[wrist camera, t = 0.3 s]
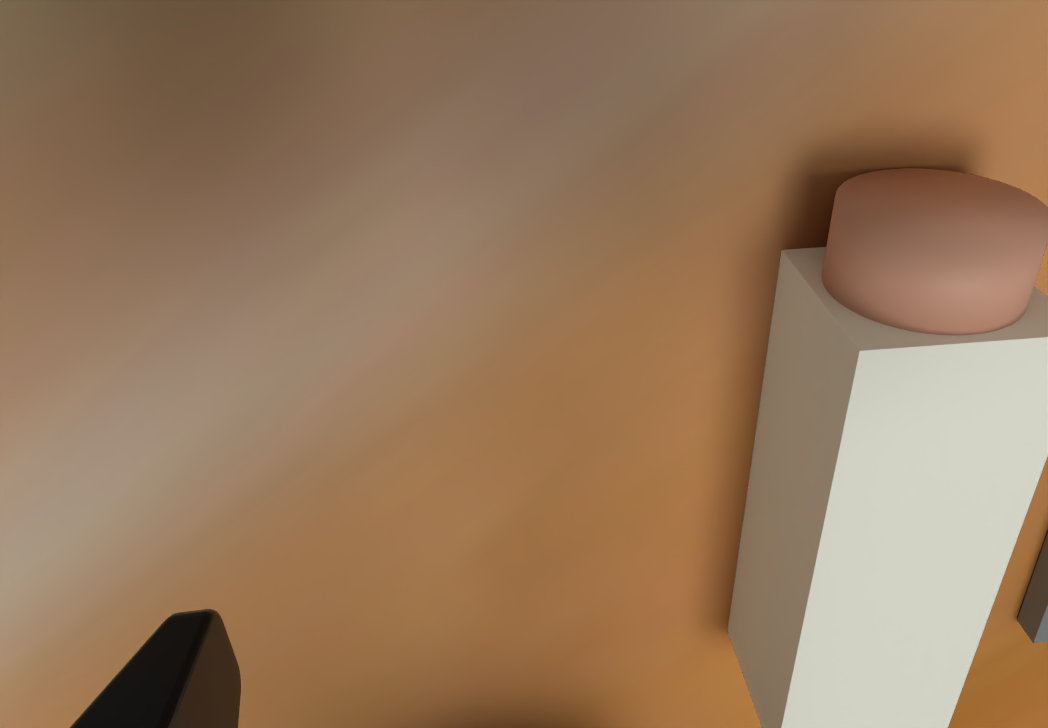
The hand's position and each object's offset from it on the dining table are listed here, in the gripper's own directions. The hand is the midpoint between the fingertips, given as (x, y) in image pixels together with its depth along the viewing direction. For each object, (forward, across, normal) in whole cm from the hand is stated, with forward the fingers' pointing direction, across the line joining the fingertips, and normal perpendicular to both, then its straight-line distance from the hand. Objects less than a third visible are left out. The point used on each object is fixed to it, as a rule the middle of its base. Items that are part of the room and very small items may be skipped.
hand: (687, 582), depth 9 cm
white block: (+14, -8, +10) cm, 19 cm away
